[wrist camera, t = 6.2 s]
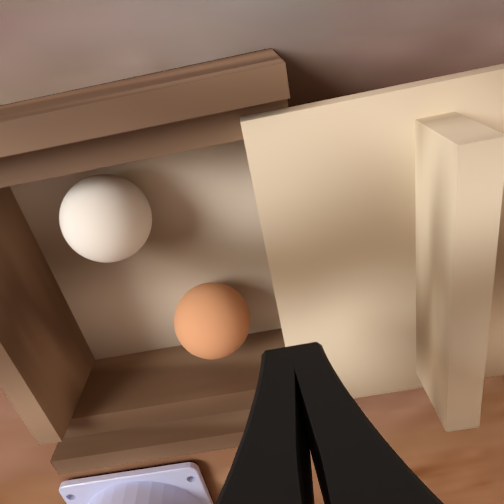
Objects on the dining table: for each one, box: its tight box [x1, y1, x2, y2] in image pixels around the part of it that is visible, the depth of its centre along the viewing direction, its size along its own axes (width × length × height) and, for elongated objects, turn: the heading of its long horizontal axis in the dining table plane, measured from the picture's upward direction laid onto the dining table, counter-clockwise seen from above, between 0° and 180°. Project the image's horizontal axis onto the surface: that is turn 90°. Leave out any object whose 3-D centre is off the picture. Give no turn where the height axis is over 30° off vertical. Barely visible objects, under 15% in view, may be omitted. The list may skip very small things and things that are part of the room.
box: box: [0, 48, 290, 474], centre depth 15 cm, size 13×11×5 cm
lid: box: [240, 64, 504, 432], centre depth 12 cm, size 11×10×3 cm
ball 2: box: [174, 282, 250, 360], centre depth 17 cm, size 3×3×3 cm
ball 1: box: [59, 174, 152, 263], centre depth 15 cm, size 3×3×3 cm
